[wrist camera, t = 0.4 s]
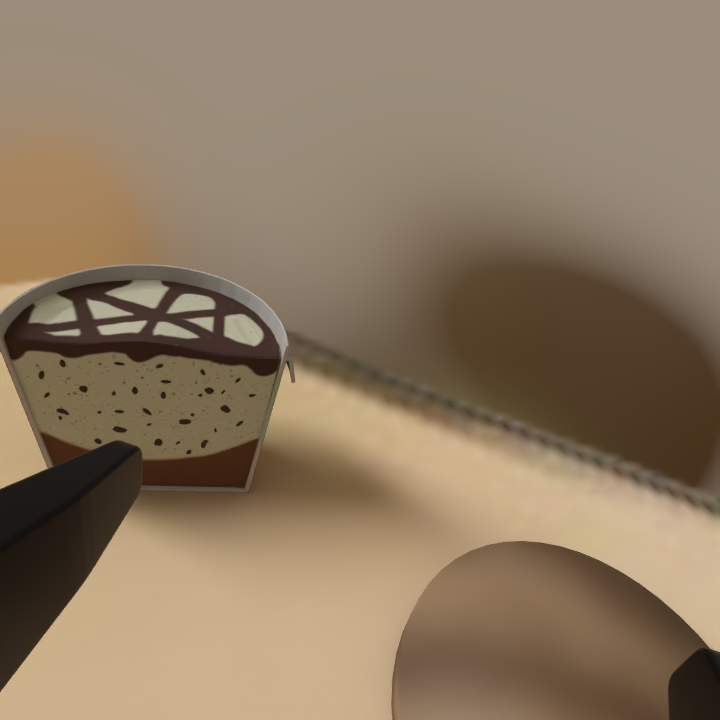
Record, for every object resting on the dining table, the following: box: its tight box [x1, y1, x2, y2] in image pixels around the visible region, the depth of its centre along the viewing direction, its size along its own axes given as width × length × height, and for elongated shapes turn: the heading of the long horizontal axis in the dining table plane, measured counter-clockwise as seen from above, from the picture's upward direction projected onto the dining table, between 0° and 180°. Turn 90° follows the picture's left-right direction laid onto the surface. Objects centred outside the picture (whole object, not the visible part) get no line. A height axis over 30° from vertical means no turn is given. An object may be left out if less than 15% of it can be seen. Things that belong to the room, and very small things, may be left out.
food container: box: [0, 264, 295, 493], centre depth 27 cm, size 12×6×10 cm, turn 97°
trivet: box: [392, 541, 710, 720], centre depth 23 cm, size 16×16×1 cm
